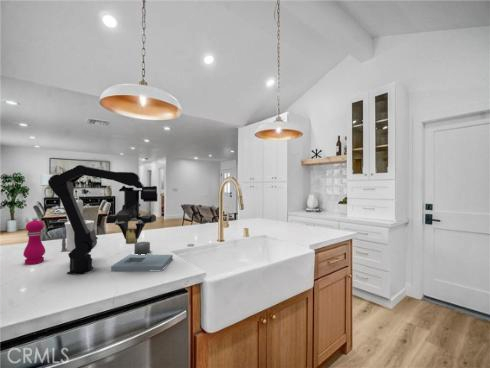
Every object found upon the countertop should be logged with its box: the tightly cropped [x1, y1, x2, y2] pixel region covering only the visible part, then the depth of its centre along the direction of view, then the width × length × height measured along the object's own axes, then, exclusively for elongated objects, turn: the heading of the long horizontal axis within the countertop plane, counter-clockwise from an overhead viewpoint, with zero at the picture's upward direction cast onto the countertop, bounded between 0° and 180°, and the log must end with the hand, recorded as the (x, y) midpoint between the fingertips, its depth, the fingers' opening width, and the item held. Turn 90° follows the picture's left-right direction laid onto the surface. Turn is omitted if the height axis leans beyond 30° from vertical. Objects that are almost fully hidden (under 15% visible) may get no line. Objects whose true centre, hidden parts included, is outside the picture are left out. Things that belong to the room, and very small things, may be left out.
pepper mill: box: [23, 216, 46, 266], centre depth 105 cm, size 7×7×20 cm
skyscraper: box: [60, 196, 84, 253], centre depth 127 cm, size 8×8×28 cm
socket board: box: [110, 254, 174, 272], centre depth 104 cm, size 20×16×2 cm
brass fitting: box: [125, 227, 138, 245], centre depth 101 cm, size 4×4×6 cm
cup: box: [64, 220, 95, 253], centre depth 105 cm, size 11×11×18 cm
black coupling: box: [133, 241, 151, 255], centre depth 122 cm, size 7×7×5 cm
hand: (131, 239), depth 101 cm, fingers closed on brass fitting, 4 cm apart
